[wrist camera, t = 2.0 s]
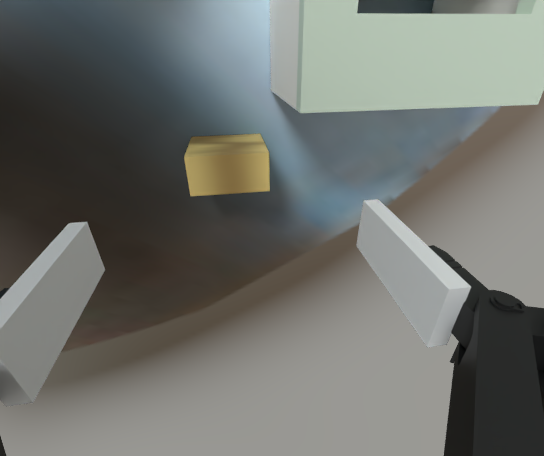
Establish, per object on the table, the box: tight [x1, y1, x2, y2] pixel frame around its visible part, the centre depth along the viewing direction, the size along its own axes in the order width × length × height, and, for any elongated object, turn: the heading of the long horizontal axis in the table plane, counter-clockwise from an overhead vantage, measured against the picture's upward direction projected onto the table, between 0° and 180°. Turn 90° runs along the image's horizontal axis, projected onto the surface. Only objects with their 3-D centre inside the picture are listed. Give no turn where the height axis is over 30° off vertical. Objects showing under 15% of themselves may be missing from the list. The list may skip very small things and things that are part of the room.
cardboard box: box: [184, 134, 270, 196], centre depth 24 cm, size 6×3×6 cm, turn 91°
